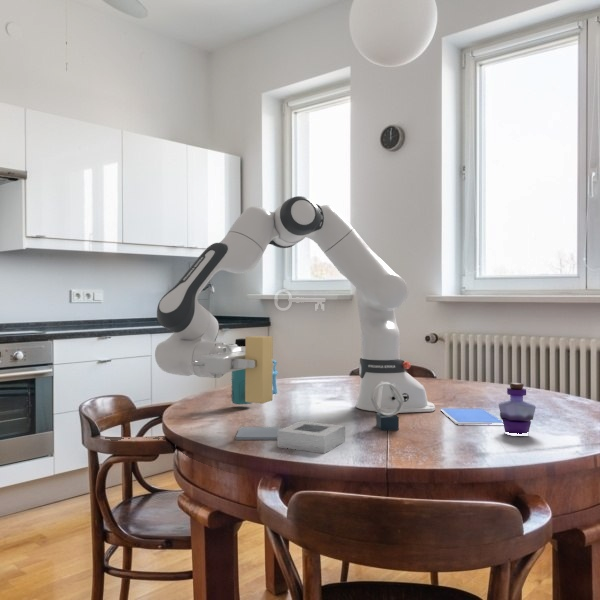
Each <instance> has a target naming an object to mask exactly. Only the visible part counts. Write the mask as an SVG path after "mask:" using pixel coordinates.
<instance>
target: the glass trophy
mask: <svg viewBox="0 0 600 600" xmlns="http://www.w3.org/2000/svg"><path fill="white" fill-rule="evenodd" d="M384 385H389V386H390V390H391V392H392V394H393V396H394V397H395V399H396V400H397V401H398V403H399V406H398V407H397V409H396V410H395V411H393V412H391V413H383V412H381V409H380V408H379V407H378V405H377V403H376V400H375V396H374V394H375V392H376V390H377V389H378V388H380V387H381V386H384ZM371 401H372V403H373V406H374V407H375V409H376V410H377V412H376V413H375V419H376V420H375V427H377V428H378V429H379V431H381V432H382V431H399V429H400V423H399V419H400V417H399V416H398V415H397V414H399V411H400V410H401V409H402V407H403V401H404V397H403V395H402V394H401V392H400V390H399V389H398V387H397V386H396V385H395V384H391V383H388V382H383V383H380V384H378V385H376V386H375V387H374V389H373V390H372V393H371Z"/></svg>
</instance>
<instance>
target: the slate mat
mask: <svg viewBox="0 0 600 600" xmlns="http://www.w3.org/2000/svg"><path fill="white" fill-rule="evenodd" d="M280 429H282V426H240V427H239V428H238V430H237V433H236V435H235V440H236V441H243V440H244V441H246V440H247V441H252V440H253V441H264V440H265V441H274V440H276V441H277V431H278V430H280Z"/></svg>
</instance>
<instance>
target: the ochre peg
mask: <svg viewBox="0 0 600 600" xmlns="http://www.w3.org/2000/svg"><path fill="white" fill-rule="evenodd" d="M273 338H274V337H273V336H272V335H271V336H268V335H251V336H245V339H246V346H245V348H246V352H245V359H246V360H250V359H251V360H257V367H255V368H245V402H251V404H266V403H268V402H272V401H273V394H274V393H273V367H274V365H273V364H274V363H273V360H274V359H273V354H274V353H273V350H274V348H273V347H274V342H273V341H274V339H273Z"/></svg>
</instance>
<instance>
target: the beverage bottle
mask: <svg viewBox="0 0 600 600" xmlns="http://www.w3.org/2000/svg"><path fill="white" fill-rule="evenodd" d="M234 341H235V343H234V344H236V345H237V346H238V347H246V338H236V339H235V340H234ZM230 389H231V402H232V404H235V405H251V404H252V403H251V402H245V369H241V370H236V371H232V372H231V388H230Z"/></svg>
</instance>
